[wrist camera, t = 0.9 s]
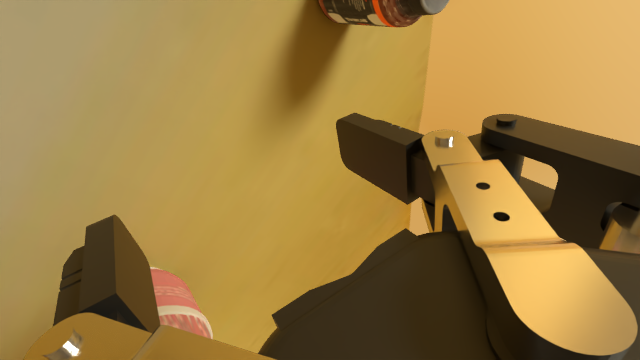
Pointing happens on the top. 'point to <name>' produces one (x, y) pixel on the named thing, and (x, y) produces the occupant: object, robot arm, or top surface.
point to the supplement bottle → (380, 11)
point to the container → (178, 304)
